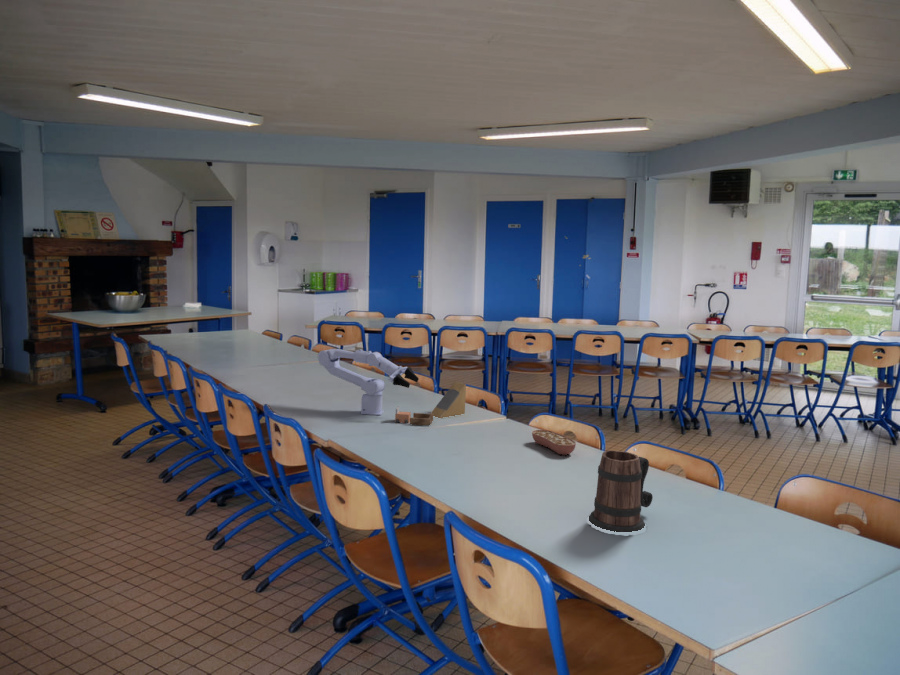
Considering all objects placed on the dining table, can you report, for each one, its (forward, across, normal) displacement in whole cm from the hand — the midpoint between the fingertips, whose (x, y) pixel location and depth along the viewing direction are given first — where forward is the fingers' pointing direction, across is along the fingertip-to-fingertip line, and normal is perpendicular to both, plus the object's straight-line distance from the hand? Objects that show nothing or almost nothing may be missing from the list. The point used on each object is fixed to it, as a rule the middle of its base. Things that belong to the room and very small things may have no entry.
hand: (413, 383), depth 293 cm
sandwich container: (+17, +12, +14) cm, 25 cm away
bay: (+13, -7, +11) cm, 18 cm away
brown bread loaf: (+70, -13, -16) cm, 73 cm away
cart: (+6, -10, +14) cm, 18 cm away
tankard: (+103, -69, -43) cm, 131 cm away
